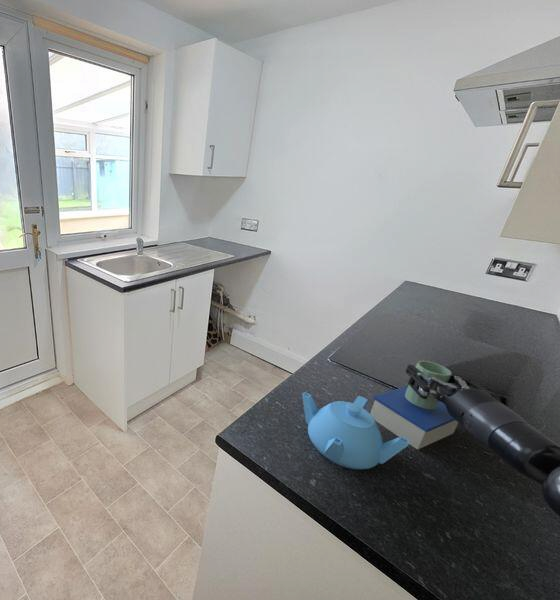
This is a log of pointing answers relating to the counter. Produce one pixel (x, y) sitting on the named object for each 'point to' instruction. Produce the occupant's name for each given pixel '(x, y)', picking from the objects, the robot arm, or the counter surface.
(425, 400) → the utensil cup
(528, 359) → the counter surface
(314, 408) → the teapot
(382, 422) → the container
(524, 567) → the counter surface
